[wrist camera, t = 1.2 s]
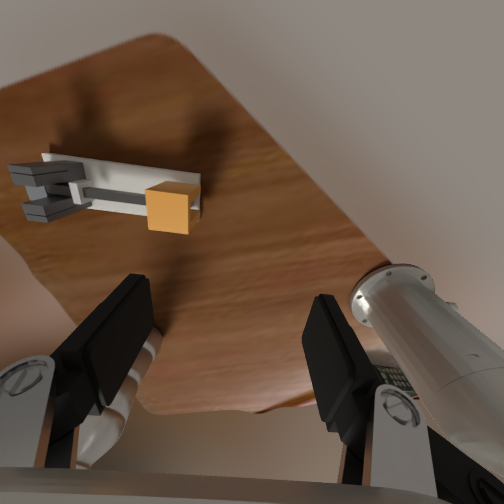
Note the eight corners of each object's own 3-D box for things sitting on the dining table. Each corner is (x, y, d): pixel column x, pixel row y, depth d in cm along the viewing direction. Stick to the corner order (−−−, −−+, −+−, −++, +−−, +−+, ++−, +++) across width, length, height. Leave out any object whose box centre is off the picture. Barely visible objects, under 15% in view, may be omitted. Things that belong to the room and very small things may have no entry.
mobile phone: (426, 391, 39) (350, 384, 37) (418, 400, 40) (344, 394, 39) (408, 366, 43) (339, 359, 42) (401, 375, 45) (334, 368, 43)
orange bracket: (200, 185, 25) (187, 195, 20) (200, 217, 27) (188, 234, 22) (166, 180, 25) (144, 189, 20) (168, 213, 26) (148, 229, 21)
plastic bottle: (123, 332, 39) (12, 492, 21) (143, 313, 37) (38, 473, 19) (152, 349, 41) (75, 508, 23) (173, 332, 39) (105, 493, 21)
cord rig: (200, 173, 26) (182, 183, 19) (199, 219, 29) (183, 242, 22) (49, 152, 25) (-26, 155, 18) (62, 202, 28) (2, 220, 21)
